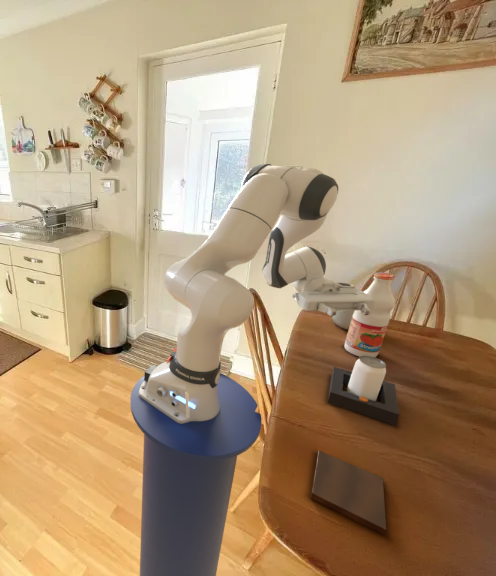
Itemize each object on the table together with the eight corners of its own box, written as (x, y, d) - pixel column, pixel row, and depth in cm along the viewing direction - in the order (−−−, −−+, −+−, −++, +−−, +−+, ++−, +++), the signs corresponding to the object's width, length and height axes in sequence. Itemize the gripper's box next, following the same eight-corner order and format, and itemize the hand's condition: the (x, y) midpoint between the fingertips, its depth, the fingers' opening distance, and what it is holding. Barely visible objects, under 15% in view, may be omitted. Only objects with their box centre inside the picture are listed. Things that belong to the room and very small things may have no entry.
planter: (367, 325, 125) (375, 300, 121) (366, 337, 116) (375, 311, 112) (330, 316, 132) (337, 293, 128) (327, 328, 123) (334, 302, 119)
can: (345, 400, 85) (357, 363, 81) (345, 387, 90) (356, 352, 86) (375, 410, 82) (389, 372, 77) (373, 396, 87) (386, 359, 82)
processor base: (327, 402, 85) (330, 390, 83) (331, 376, 95) (334, 365, 94) (394, 425, 77) (400, 413, 75) (390, 394, 87) (395, 382, 86)
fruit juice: (358, 342, 113) (382, 268, 103) (384, 357, 104) (413, 278, 94) (336, 345, 111) (358, 271, 101) (361, 360, 102) (387, 280, 92)
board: (310, 498, 60) (312, 493, 60) (317, 455, 69) (318, 450, 69) (383, 535, 54) (386, 529, 54) (380, 482, 63) (382, 477, 63)
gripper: (291, 285, 101) (315, 303, 88) (357, 284, 100) (391, 302, 87) (288, 302, 103) (310, 323, 91) (352, 301, 102) (384, 322, 90)
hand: (350, 313), depth 89 cm, fingers open, 8 cm apart
